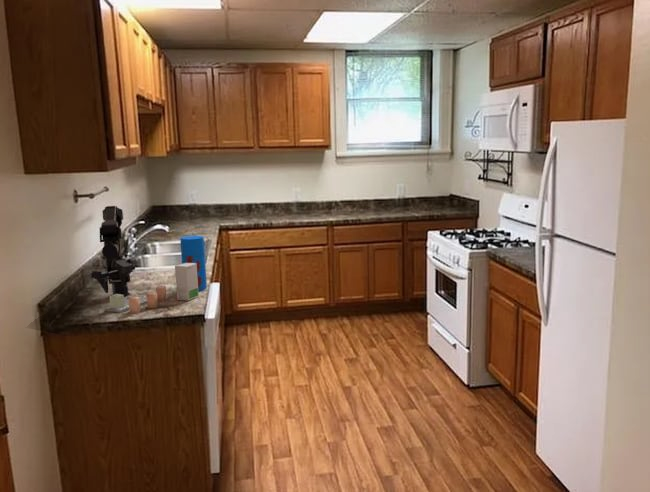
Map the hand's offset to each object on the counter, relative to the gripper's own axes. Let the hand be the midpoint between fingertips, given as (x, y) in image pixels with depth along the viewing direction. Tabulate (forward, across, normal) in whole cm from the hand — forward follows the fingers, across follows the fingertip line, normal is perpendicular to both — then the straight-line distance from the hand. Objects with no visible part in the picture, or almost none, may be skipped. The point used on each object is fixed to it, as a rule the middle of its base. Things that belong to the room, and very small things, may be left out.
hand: (115, 290), depth 228 cm
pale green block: (+7, 0, 0) cm, 7 cm away
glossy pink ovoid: (+8, +18, -8) cm, 22 cm away
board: (+8, +6, -1) cm, 10 cm away
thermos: (+8, +40, -9) cm, 41 cm away
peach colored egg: (+8, 0, -10) cm, 13 cm away
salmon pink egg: (+8, +8, -12) cm, 17 cm away
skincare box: (+9, +25, -17) cm, 31 cm away
